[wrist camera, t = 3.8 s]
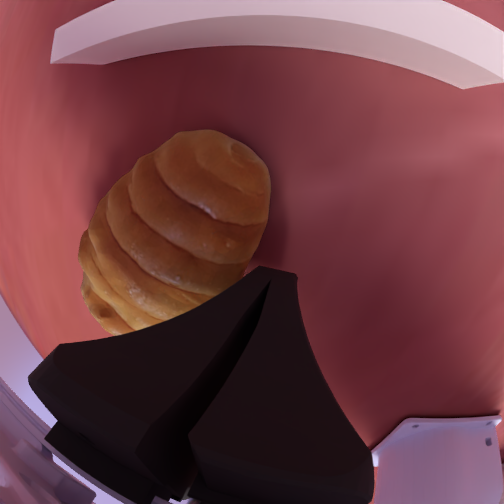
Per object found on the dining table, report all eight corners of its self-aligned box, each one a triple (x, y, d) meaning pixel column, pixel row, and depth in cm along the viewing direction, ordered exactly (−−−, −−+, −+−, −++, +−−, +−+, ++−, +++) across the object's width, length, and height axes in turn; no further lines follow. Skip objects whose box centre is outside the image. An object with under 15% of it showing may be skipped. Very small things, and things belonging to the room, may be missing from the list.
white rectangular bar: (463, 51, 5) (505, 32, 2) (462, 89, 6) (507, 81, 3) (106, 36, 8) (55, 29, 5) (102, 65, 9) (50, 63, 6)
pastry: (184, 90, 9) (114, 84, 5) (325, 208, 9) (319, 258, 6) (101, 248, 13) (52, 283, 10) (193, 331, 14) (159, 384, 11)
